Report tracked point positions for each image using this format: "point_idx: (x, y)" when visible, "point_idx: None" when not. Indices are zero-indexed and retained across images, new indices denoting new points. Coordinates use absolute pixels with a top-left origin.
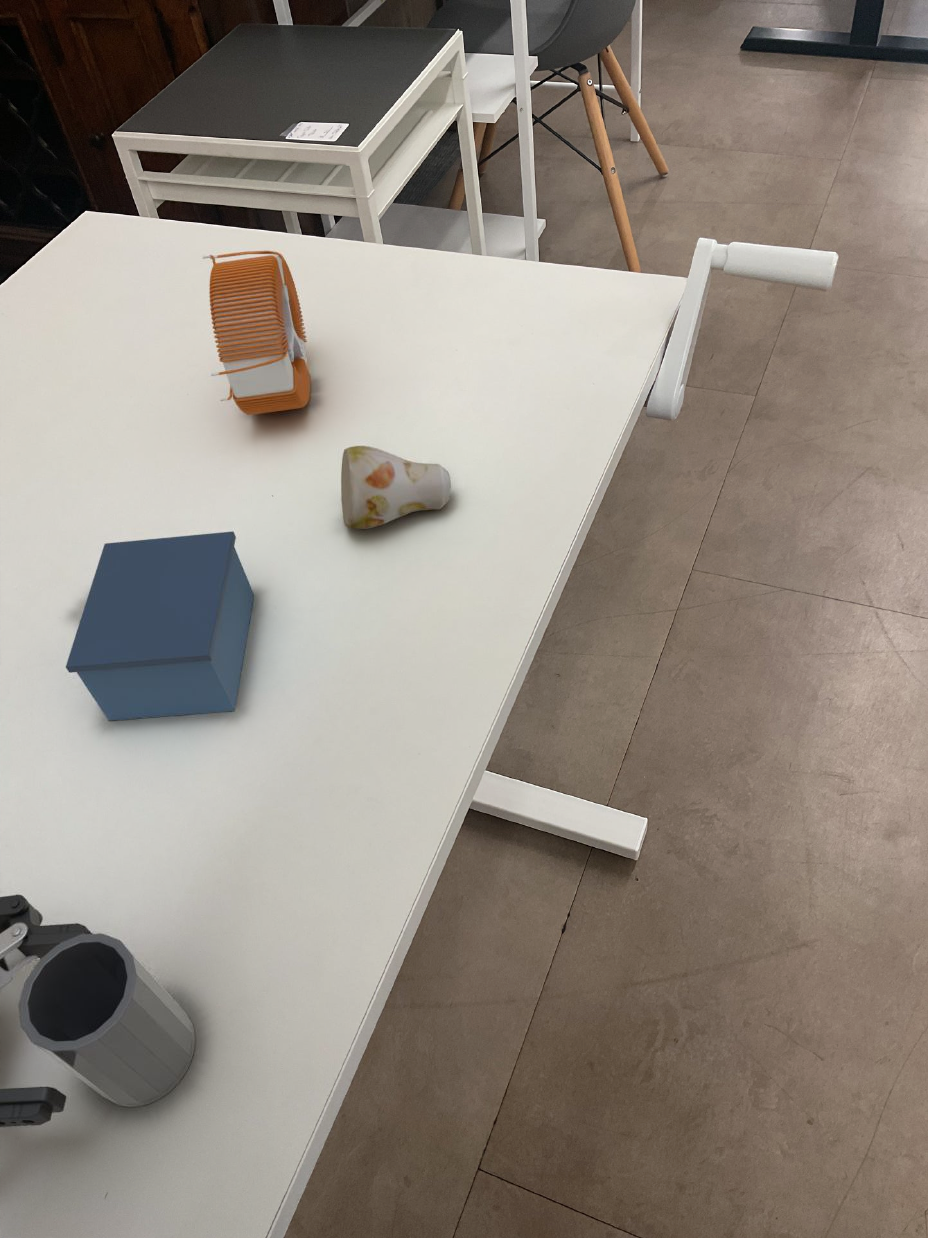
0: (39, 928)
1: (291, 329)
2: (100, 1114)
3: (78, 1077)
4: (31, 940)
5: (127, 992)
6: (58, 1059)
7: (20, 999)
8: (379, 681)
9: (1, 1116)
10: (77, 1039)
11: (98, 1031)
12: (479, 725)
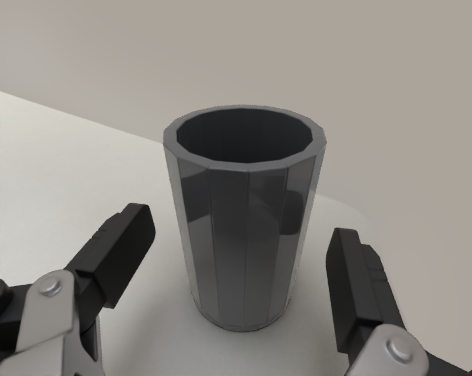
0: (71, 265)
1: None
2: (296, 322)
3: (295, 261)
4: (89, 262)
5: (258, 107)
6: (314, 188)
7: (239, 168)
8: (41, 151)
9: (388, 295)
10: (309, 128)
11: (300, 117)
12: (113, 129)
